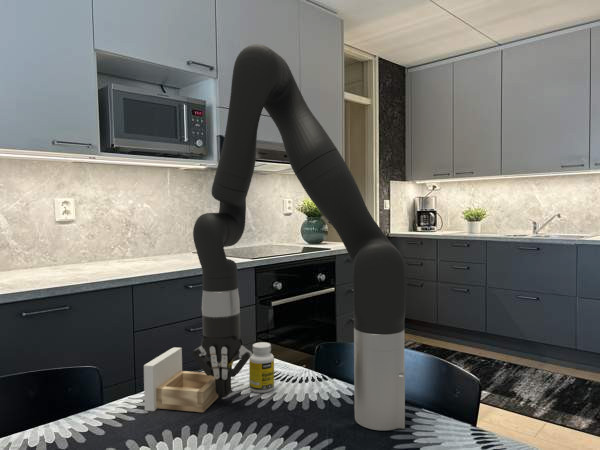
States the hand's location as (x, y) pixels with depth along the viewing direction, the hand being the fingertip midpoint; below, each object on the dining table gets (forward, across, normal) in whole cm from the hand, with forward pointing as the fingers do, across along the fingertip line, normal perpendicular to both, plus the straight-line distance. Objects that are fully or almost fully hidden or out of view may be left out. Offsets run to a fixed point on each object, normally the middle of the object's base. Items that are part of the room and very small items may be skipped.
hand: (223, 395), depth 93 cm
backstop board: (+1, +13, 0) cm, 13 cm away
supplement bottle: (+2, -5, -9) cm, 11 cm away
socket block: (+2, +7, 0) cm, 7 cm away
